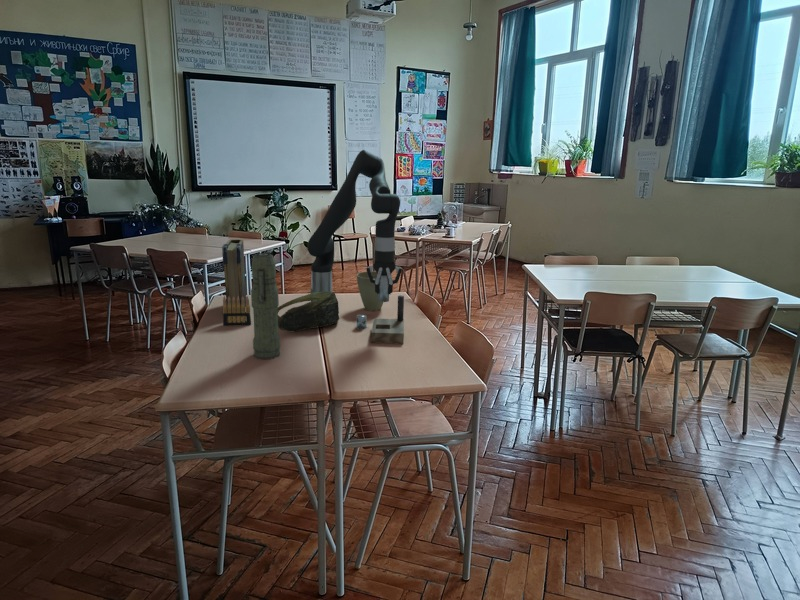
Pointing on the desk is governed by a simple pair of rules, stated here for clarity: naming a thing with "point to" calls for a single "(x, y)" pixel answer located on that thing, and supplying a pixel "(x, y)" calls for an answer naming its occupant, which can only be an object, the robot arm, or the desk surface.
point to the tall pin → (383, 289)
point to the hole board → (389, 327)
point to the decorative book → (234, 270)
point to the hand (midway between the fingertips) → (383, 293)
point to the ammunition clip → (236, 315)
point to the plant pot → (368, 291)
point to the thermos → (265, 307)
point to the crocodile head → (310, 312)
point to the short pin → (361, 321)
